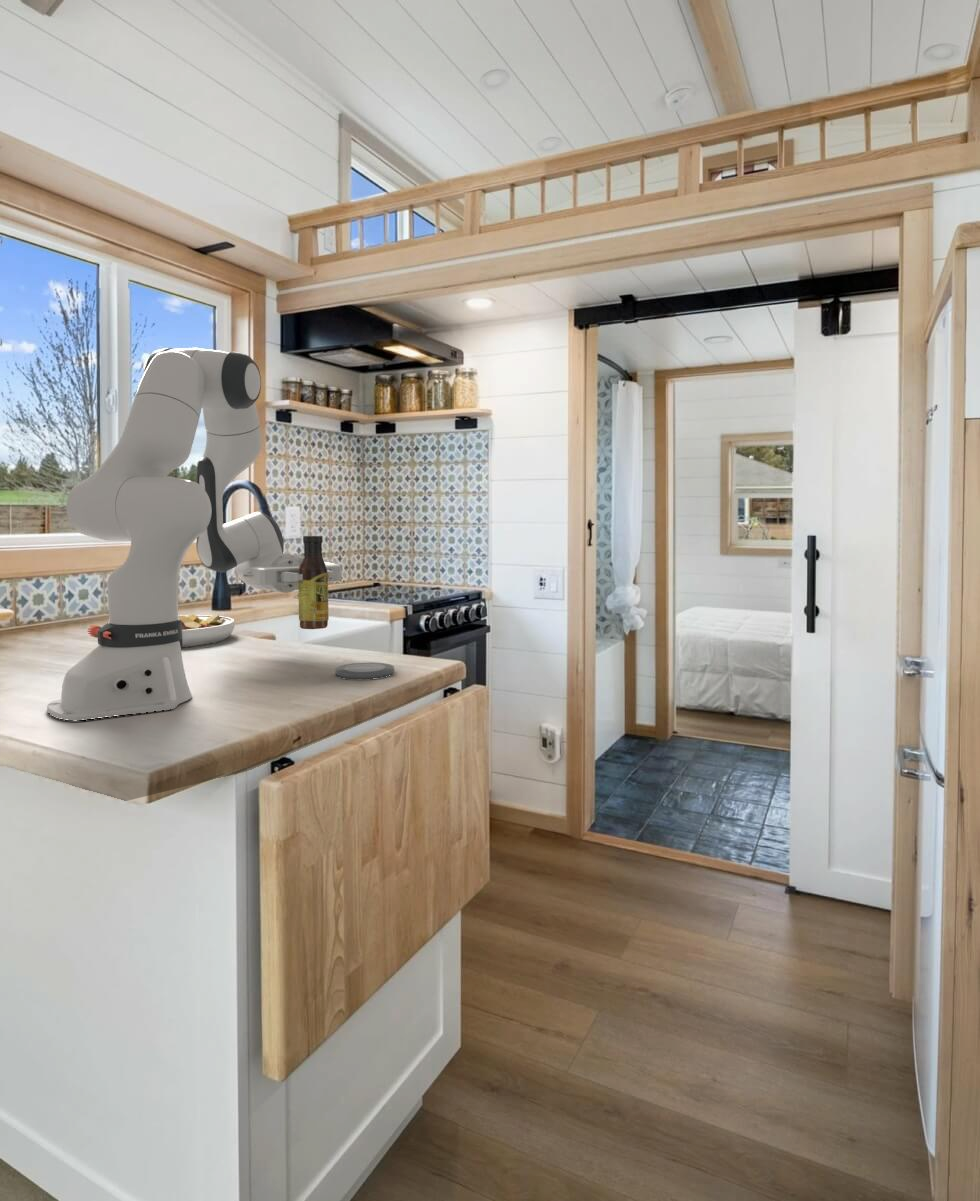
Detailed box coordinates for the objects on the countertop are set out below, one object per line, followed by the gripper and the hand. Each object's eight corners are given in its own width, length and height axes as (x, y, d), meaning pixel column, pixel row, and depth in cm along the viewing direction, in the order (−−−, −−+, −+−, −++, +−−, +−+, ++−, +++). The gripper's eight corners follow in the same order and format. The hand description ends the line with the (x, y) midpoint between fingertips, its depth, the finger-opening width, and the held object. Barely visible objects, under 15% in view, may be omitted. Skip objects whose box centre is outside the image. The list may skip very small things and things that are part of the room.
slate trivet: (357, 682, 149) (357, 676, 149) (323, 673, 158) (323, 667, 158) (405, 673, 158) (405, 667, 158) (371, 665, 166) (371, 659, 166)
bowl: (112, 636, 207) (111, 607, 206) (229, 630, 219) (228, 602, 218) (107, 655, 180) (105, 622, 179) (240, 646, 192) (239, 615, 191)
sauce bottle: (321, 630, 161) (319, 536, 159) (293, 629, 162) (291, 536, 160) (333, 626, 167) (332, 535, 165) (307, 625, 168) (305, 535, 166)
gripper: (239, 560, 165) (270, 563, 155) (321, 557, 179) (355, 560, 169) (240, 589, 166) (271, 594, 156) (322, 584, 180) (355, 588, 170)
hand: (315, 576), depth 163 cm, fingers closed on sauce bottle, 6 cm apart
